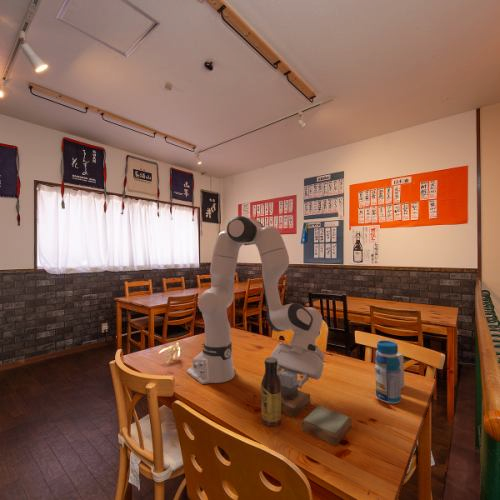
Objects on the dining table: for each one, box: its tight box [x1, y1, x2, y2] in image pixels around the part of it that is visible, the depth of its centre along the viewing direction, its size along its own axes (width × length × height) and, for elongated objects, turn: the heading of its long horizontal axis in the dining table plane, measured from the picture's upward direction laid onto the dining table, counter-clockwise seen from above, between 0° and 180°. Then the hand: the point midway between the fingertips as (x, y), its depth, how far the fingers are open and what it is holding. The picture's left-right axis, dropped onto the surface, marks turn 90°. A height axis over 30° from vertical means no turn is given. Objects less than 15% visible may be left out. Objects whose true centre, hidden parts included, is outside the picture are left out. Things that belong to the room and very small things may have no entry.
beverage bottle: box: [374, 340, 402, 405], centre depth 100 cm, size 8×8×20 cm
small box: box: [375, 349, 405, 389], centre depth 110 cm, size 8×6×13 cm
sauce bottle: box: [260, 356, 282, 427], centre depth 87 cm, size 7×6×20 cm
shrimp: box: [156, 341, 184, 365], centre depth 137 cm, size 11×15×9 cm
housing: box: [279, 369, 299, 400], centre depth 97 cm, size 5×4×8 cm
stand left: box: [281, 390, 311, 418], centre depth 97 cm, size 11×11×3 cm
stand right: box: [300, 405, 352, 447], centre depth 84 cm, size 11×11×3 cm
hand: (287, 383), depth 97 cm, fingers open, 8 cm apart
